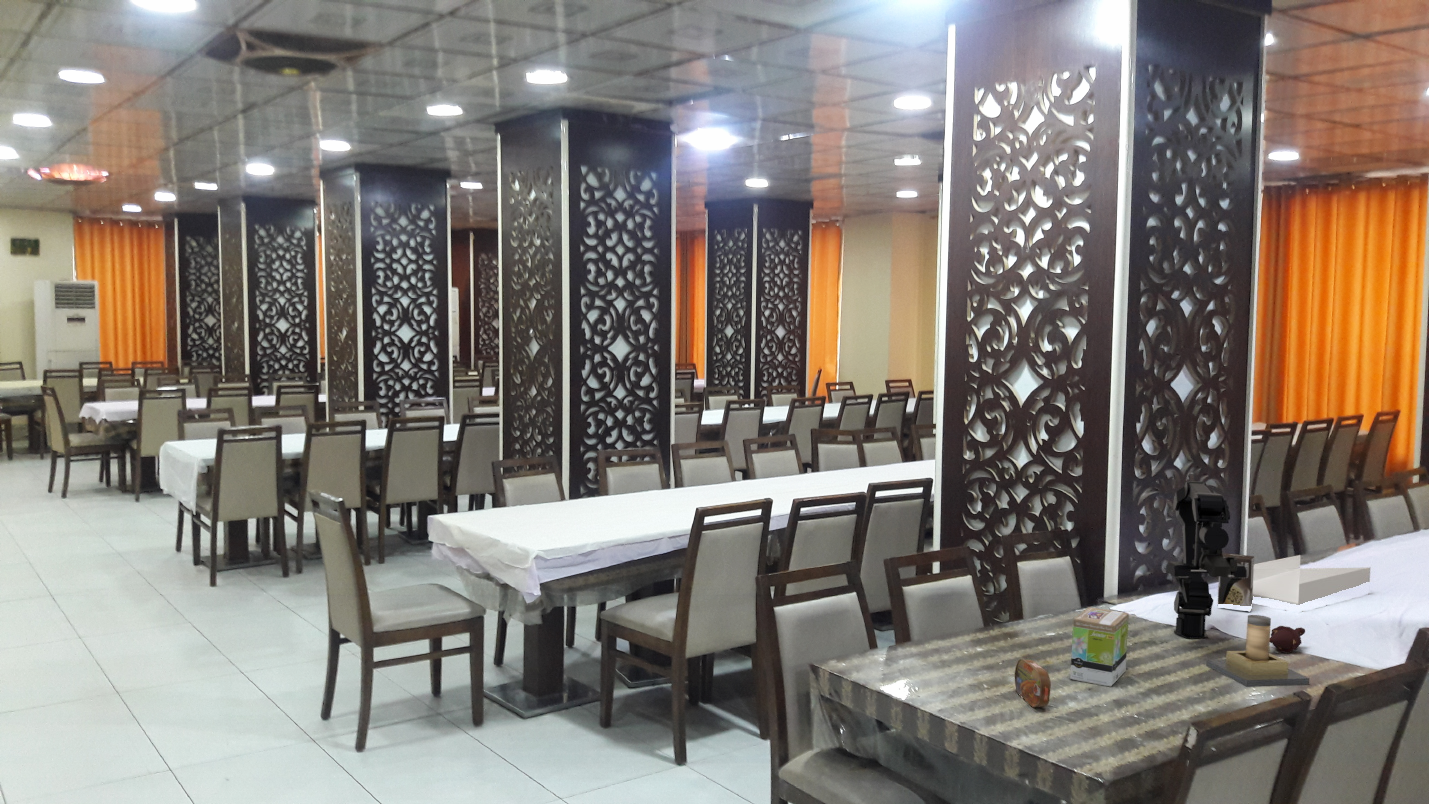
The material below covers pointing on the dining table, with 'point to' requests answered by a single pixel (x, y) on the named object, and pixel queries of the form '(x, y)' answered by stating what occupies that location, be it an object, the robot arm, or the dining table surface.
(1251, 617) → the tan cylinder
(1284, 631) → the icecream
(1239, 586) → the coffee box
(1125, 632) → the tea box
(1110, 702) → the dining table surface
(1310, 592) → the building model
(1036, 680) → the tin
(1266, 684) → the socket
